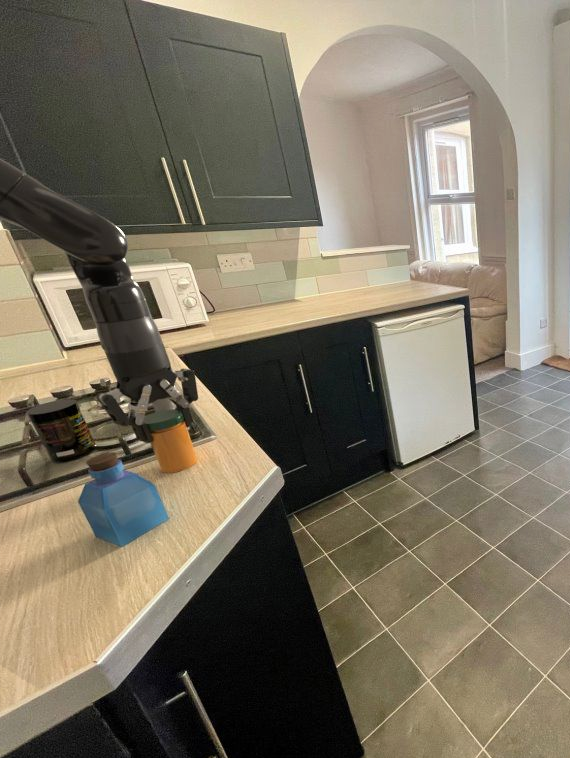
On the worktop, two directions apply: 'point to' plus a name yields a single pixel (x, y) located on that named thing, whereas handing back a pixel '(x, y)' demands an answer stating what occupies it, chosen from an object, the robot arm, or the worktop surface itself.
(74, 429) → the supplement container
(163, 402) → the planter
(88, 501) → the perfume bottle
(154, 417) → the lid
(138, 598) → the worktop surface
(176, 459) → the jar
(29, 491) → the worktop surface
